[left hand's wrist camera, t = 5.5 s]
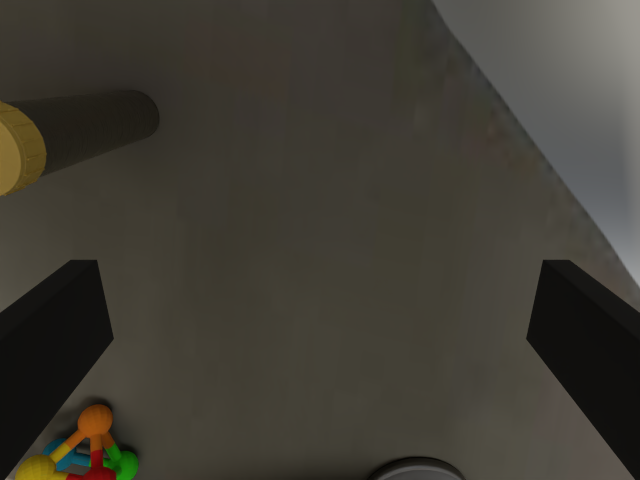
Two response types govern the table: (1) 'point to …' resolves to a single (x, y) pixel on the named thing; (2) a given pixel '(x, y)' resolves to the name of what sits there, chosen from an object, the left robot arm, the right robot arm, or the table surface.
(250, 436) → the table surface
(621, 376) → the left robot arm
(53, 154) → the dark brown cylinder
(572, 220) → the table surface
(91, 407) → the molecular model
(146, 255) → the table surface
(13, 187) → the lid
